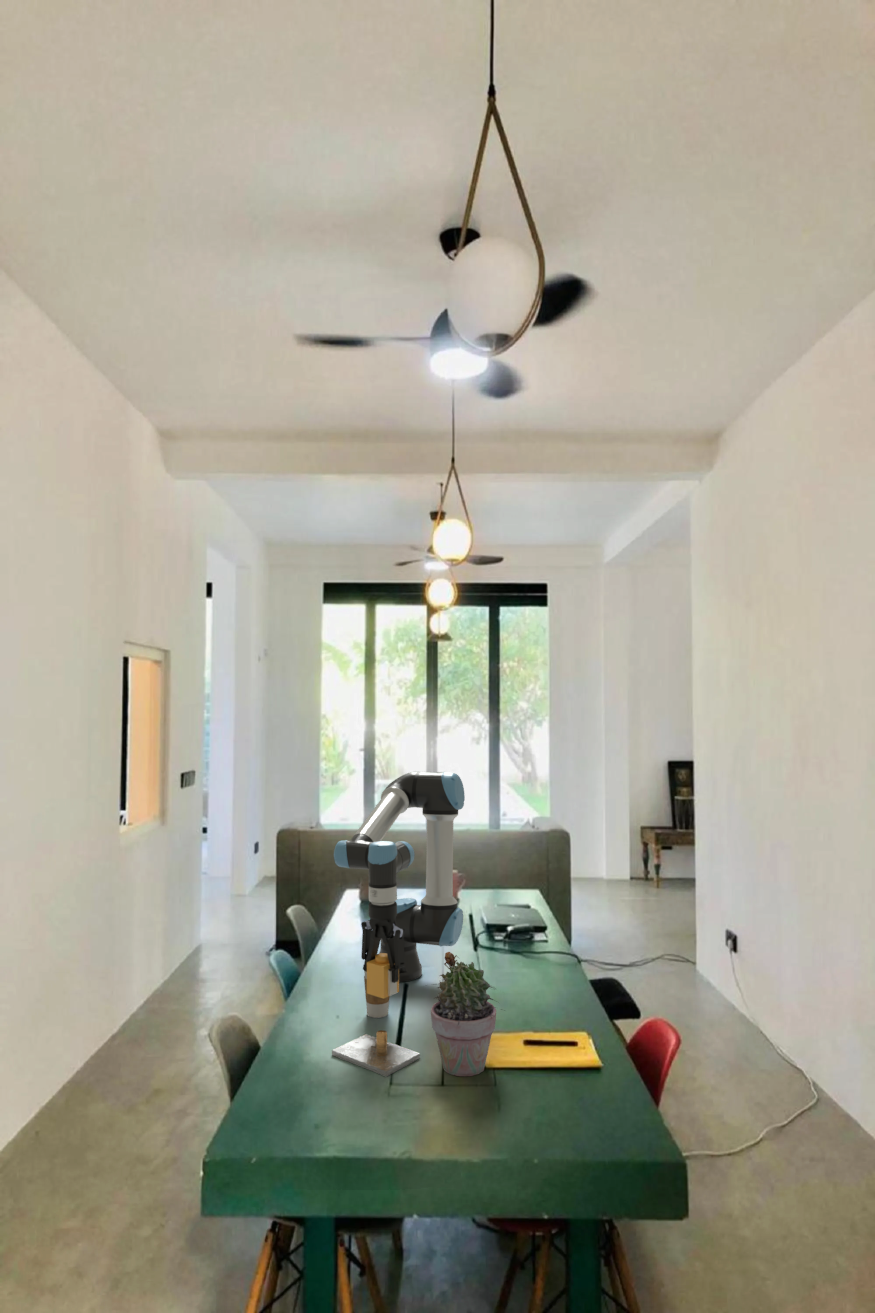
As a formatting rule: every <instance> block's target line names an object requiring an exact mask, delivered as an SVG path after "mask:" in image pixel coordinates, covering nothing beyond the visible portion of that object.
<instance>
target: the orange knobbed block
mask: <svg viewBox="0 0 875 1313" xmlns="http://www.w3.org/2000/svg"><path fill="white" fill-rule="evenodd" d="M379 953H380V952H379ZM379 953H377V955H375V959H374V960H371V961H368V962H367V994H370V995H374V996H377V997H380V998H383V999H384V998H386V997H389V996H388V969H390V965H389V960H388V956H387V953H380V954H379ZM394 964H395V963H394ZM399 992H400V982H399V980H398V982H397V993H399Z"/></svg>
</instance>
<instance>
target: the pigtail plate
mask: <svg viewBox="0 0 875 1313" xmlns="http://www.w3.org/2000/svg"><path fill="white" fill-rule="evenodd" d="M375 1035H376V1036H372V1035H371V1034H370V1035H369V1034H367V1033H364V1035H361V1036H359V1037H357V1038H354V1039H353V1040H350V1041H348V1042H346V1043H344V1044H342V1045H340V1046H337V1047H335V1048H333V1049H332V1050H331V1055H332V1057H333V1056H334V1057H336V1058H338V1059H341V1060H343V1061H346V1062H349V1063H351V1064H354V1065H355V1066H358V1067H360V1068H363V1069H366V1070H368V1071H371V1072H374V1073H376V1074H378V1075H381V1076H382V1077H385V1078H386V1077H388V1076H390V1075H392V1074H394V1073H396V1072H398V1071H399V1070H401V1069H403V1068H405V1067H407V1066H408V1065H411V1064H412V1063H414V1062H416V1061H417V1060H420V1059H421V1057H420V1056H421V1053H420V1052H417V1051H415V1050H412V1049H410V1048H409V1049H408V1048H406V1047H405V1046H404V1047H403V1046H401V1045H398V1044H395V1043H392V1042H390V1041H388V1031H387V1030H383V1029H382V1030H377V1031H376V1034H375Z"/></svg>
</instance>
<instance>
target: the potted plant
mask: <svg viewBox="0 0 875 1313" xmlns="http://www.w3.org/2000/svg"><path fill="white" fill-rule="evenodd" d="M456 957H457V958H459V956H458V955H455V954H454V953H452V952H451V951H447V952H445V953H444V960H445V962H444V963H443V964H444V966H445V967H447V970H449V971H450V972H449V971H446V973H445V974H444V973H442V974H440V975H439V977H442V981H439V987H438V986H437V989H440V990H441V992H439V993H438V994H437V996H436V997H435V996H434V999H437V1000H438V1001H437V1002H435V1003H433V1005H432V1007H431V1009H430V1017H431V1018H430V1019H431V1029H432V1030H433V1032H435V1038H436V1042H437V1046H438V1052H439V1056H440V1059H441V1063H442V1068H443V1070H444V1071H445V1073H447V1074H449V1075H451V1076H456V1077H473V1076H476V1075H479V1074H481V1073H482V1072H484V1070H485V1066H486V1063H487V1056H488V1054H489V1047H490V1043H491V1039H492V1035H493V1032H494V1031H495V1030H496V1021H497V1009H496V1008H497V1007H495V1006H494V1004H493V1003H491V1002H489V1000H490V1001H491V1000H492V1001H495V1002H497V1003H499V1001H496V999H493V998H491V996H490V995H489V994H488V993H487V990H488V989H490V990H492V989H493V990H494V991H495V990H497V987H495V986H493V985H491V984H490V983H489V982H488V981H486V979H485V978H484V975H485V974H484V972H485V971H484V969H483V970H482V969H477V968H475V962H473V961H471V963H469V964H468V963H466V964H465V963H464V961H463V962H462V961H460V962H458V959H456ZM434 985H436V983H435V984H432V986H434ZM425 986H427V985H426V984H425V985H424V987H425ZM502 993H504V991H502ZM499 1004H500V1003H499ZM500 1010H502V1011H505V1012H506V1010H504V1009H500Z"/></svg>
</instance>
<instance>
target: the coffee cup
mask: <svg viewBox="0 0 875 1313" xmlns="http://www.w3.org/2000/svg"><path fill="white" fill-rule="evenodd" d="M362 970H363V971H364V975H363V979H364V980H363V981H364V992H365V994H364V995H365V1002H366V1003H365V1004H366V1015H367V1017H369V1018H374V1019H381V1018H385V1017H387V1016H388V1015H389V1008H390V1006H389V1005H390V997H391V996H389V997H386V998H384V999H383V998H380V997H377V996H374V995H370V994H367V962H366V960H365V959H364V962H363V966H362Z"/></svg>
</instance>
